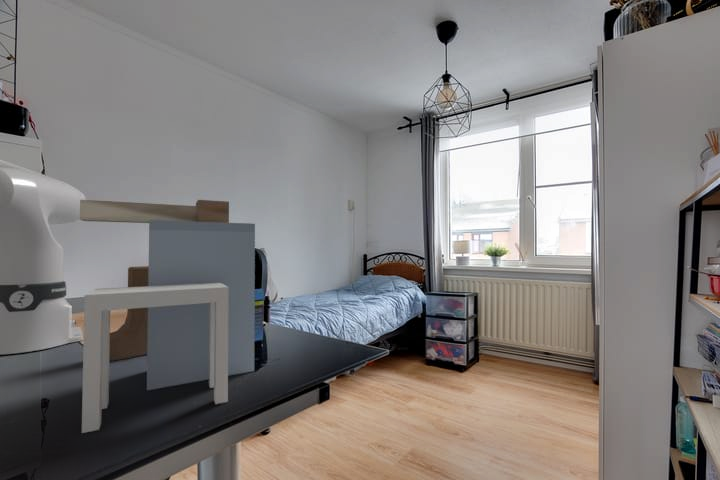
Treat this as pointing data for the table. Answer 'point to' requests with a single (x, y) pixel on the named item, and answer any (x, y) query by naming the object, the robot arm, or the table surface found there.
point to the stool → (143, 297)
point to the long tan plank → (153, 211)
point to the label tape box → (258, 315)
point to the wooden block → (132, 323)
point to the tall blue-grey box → (191, 321)
